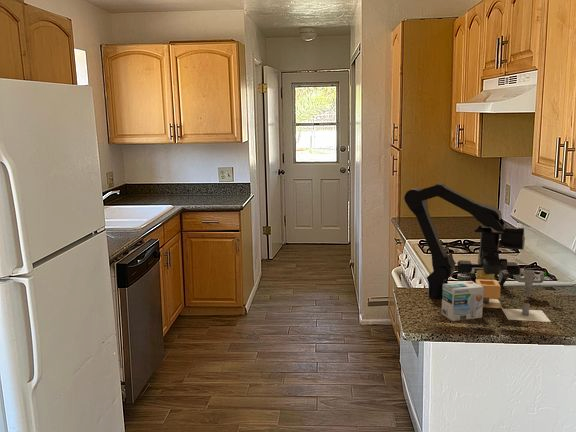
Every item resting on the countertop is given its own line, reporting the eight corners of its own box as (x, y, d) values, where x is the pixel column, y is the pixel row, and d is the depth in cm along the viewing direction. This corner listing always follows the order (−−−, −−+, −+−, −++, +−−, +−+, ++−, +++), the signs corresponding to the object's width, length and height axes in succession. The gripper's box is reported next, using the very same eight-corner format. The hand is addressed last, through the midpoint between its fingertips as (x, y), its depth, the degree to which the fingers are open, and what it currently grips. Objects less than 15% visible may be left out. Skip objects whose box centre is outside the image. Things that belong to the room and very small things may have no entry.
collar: (477, 297, 177) (477, 285, 177) (473, 290, 184) (474, 279, 184) (500, 298, 176) (500, 286, 176) (495, 291, 183) (496, 280, 182)
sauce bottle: (472, 281, 208) (475, 230, 204) (486, 280, 209) (489, 229, 206) (483, 286, 201) (486, 233, 198) (498, 285, 203) (501, 232, 200)
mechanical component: (544, 301, 184) (546, 272, 183) (512, 299, 187) (514, 271, 185) (542, 298, 187) (544, 270, 186) (510, 297, 189) (512, 269, 188)
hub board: (508, 322, 166) (508, 308, 165) (501, 311, 175) (502, 297, 175) (550, 324, 164) (551, 310, 163) (541, 313, 173) (542, 299, 172)
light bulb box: (452, 324, 165) (454, 289, 163) (440, 316, 171) (441, 283, 169) (483, 320, 168) (485, 286, 166) (470, 313, 174) (471, 280, 172)
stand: (473, 309, 177) (474, 294, 176) (469, 300, 186) (470, 286, 185) (502, 310, 176) (503, 295, 175) (497, 301, 184) (498, 287, 184)
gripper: (462, 251, 171) (460, 299, 174) (526, 253, 168) (522, 302, 171) (458, 243, 182) (456, 288, 185) (517, 245, 179) (514, 291, 181)
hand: (486, 292), depth 180 cm, fingers closed on collar, 7 cm apart
